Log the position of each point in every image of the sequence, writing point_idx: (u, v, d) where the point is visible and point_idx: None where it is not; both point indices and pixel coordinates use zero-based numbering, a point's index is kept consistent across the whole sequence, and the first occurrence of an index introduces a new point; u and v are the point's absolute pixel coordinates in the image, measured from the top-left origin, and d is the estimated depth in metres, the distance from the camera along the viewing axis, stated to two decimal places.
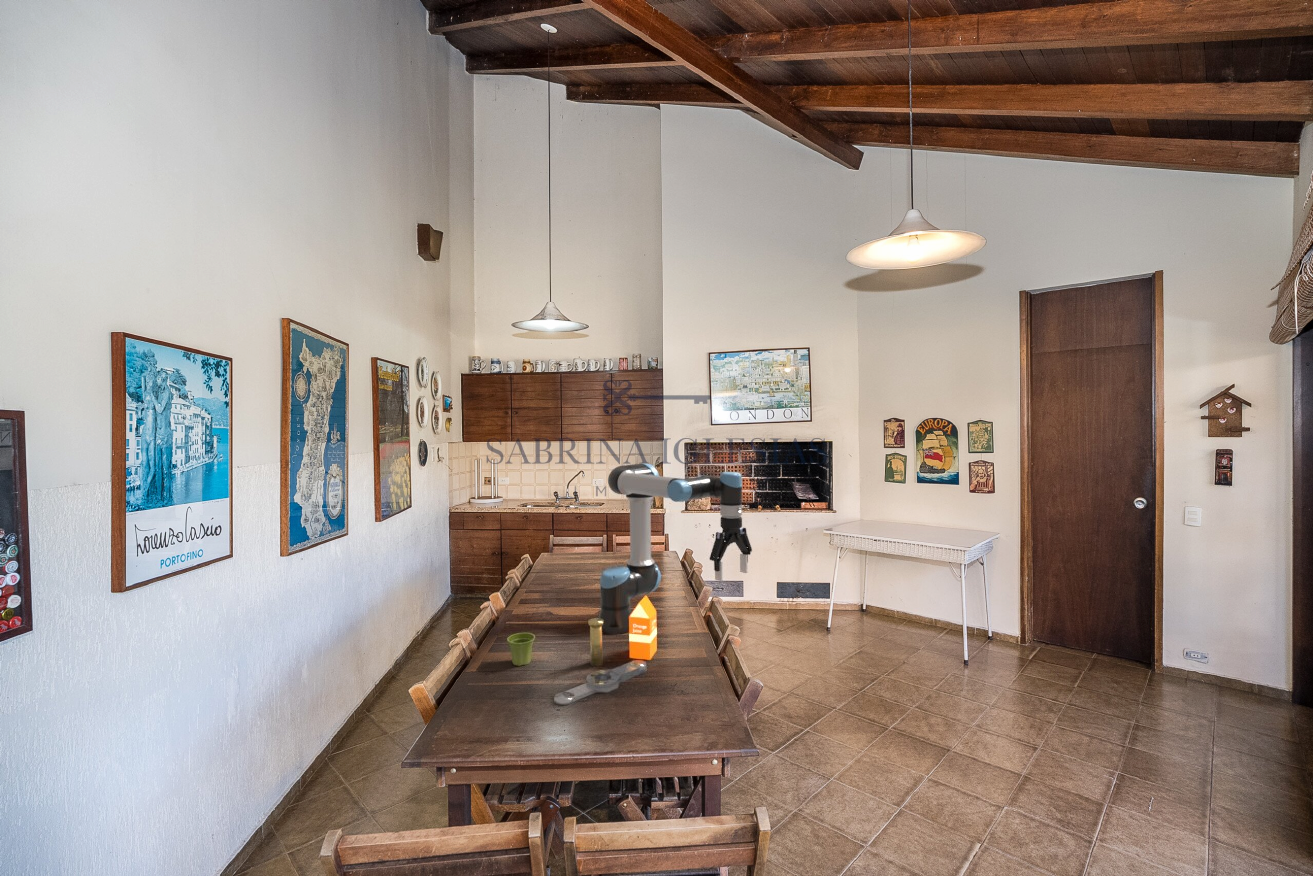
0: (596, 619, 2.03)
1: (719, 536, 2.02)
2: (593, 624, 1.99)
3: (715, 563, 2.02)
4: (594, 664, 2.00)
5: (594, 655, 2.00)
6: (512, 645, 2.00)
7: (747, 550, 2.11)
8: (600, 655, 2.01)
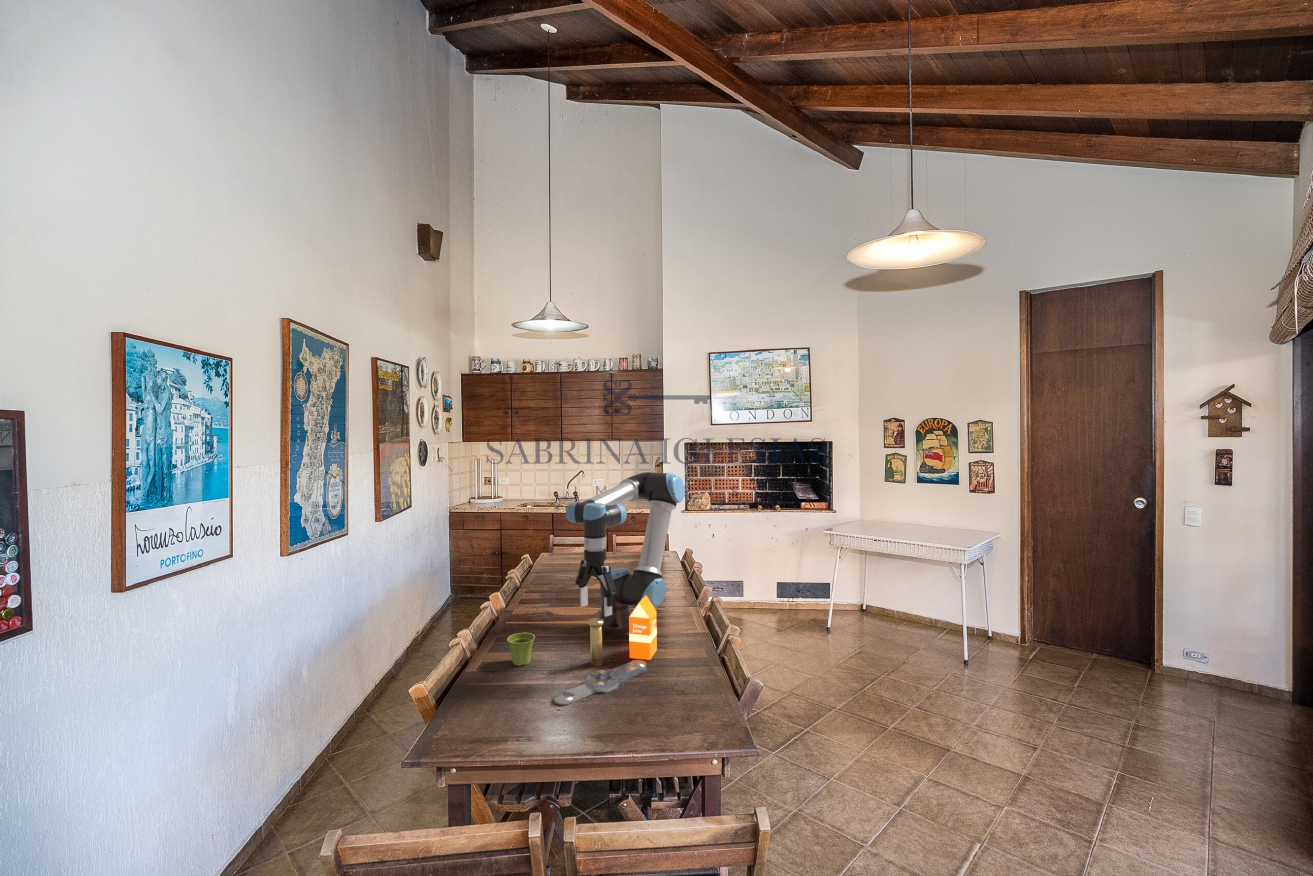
0: (596, 619, 2.02)
1: None
2: (593, 624, 1.99)
3: None
4: (594, 664, 2.00)
5: (594, 655, 2.00)
6: (512, 645, 2.00)
7: (606, 592, 1.94)
8: (600, 655, 2.01)
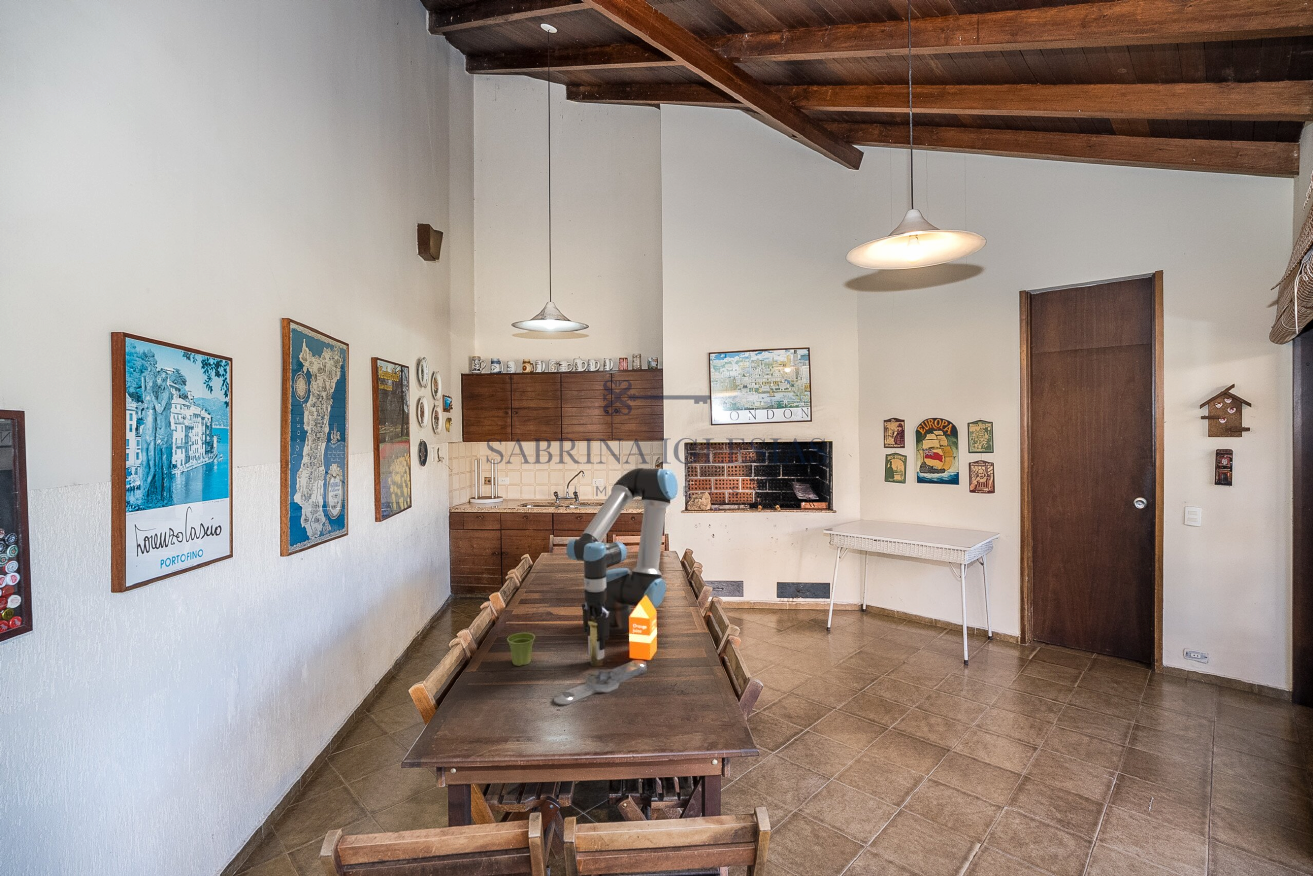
0: None
1: None
2: (593, 624, 1.99)
3: None
4: (594, 664, 2.00)
5: (594, 655, 2.00)
6: (512, 645, 2.00)
7: (599, 636, 1.98)
8: None
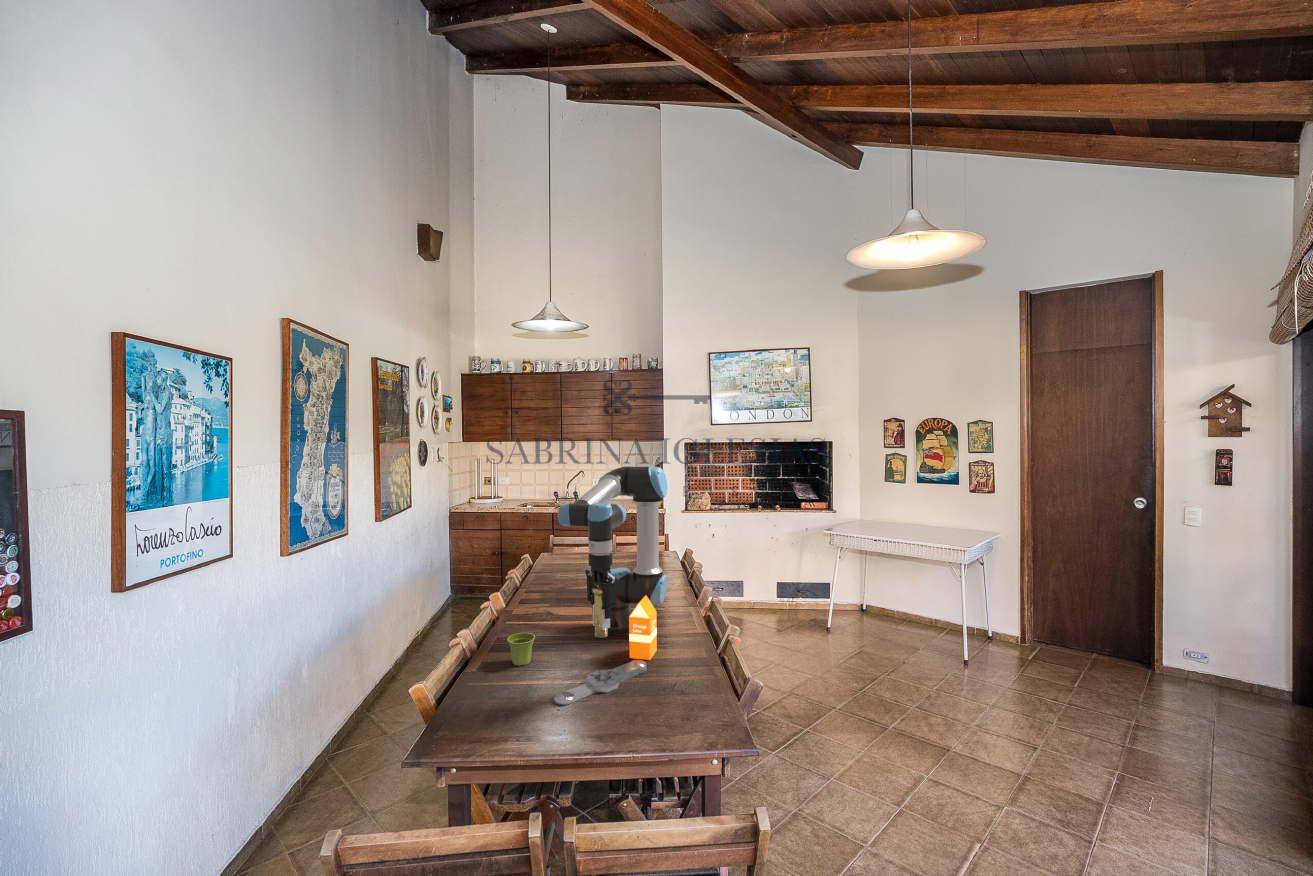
0: None
1: None
2: (598, 591, 1.83)
3: None
4: (599, 635, 1.84)
5: (599, 626, 1.84)
6: (512, 645, 2.00)
7: (604, 604, 1.82)
8: None
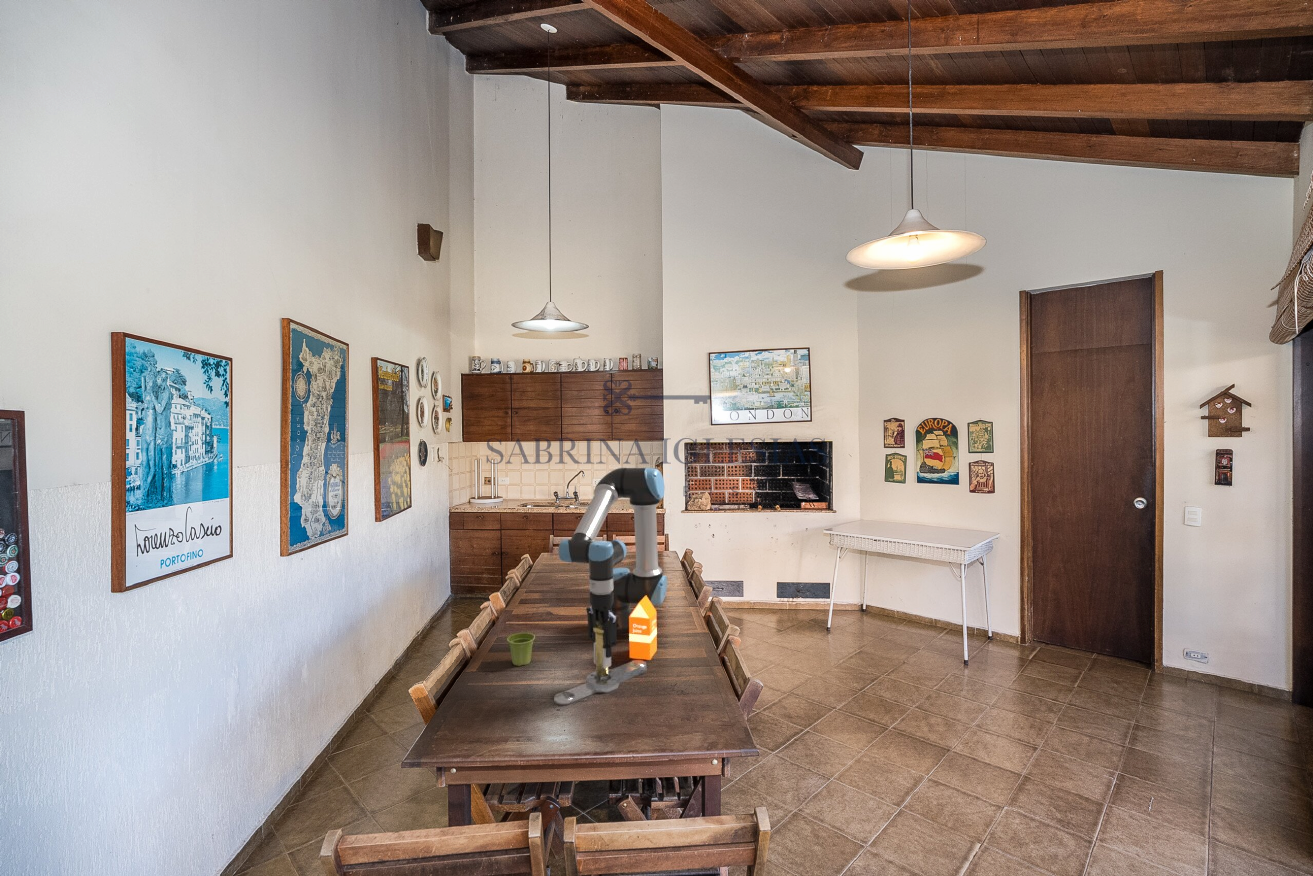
0: None
1: None
2: (599, 631, 1.83)
3: None
4: (600, 674, 1.84)
5: (600, 665, 1.84)
6: (512, 645, 2.00)
7: (605, 643, 1.82)
8: None
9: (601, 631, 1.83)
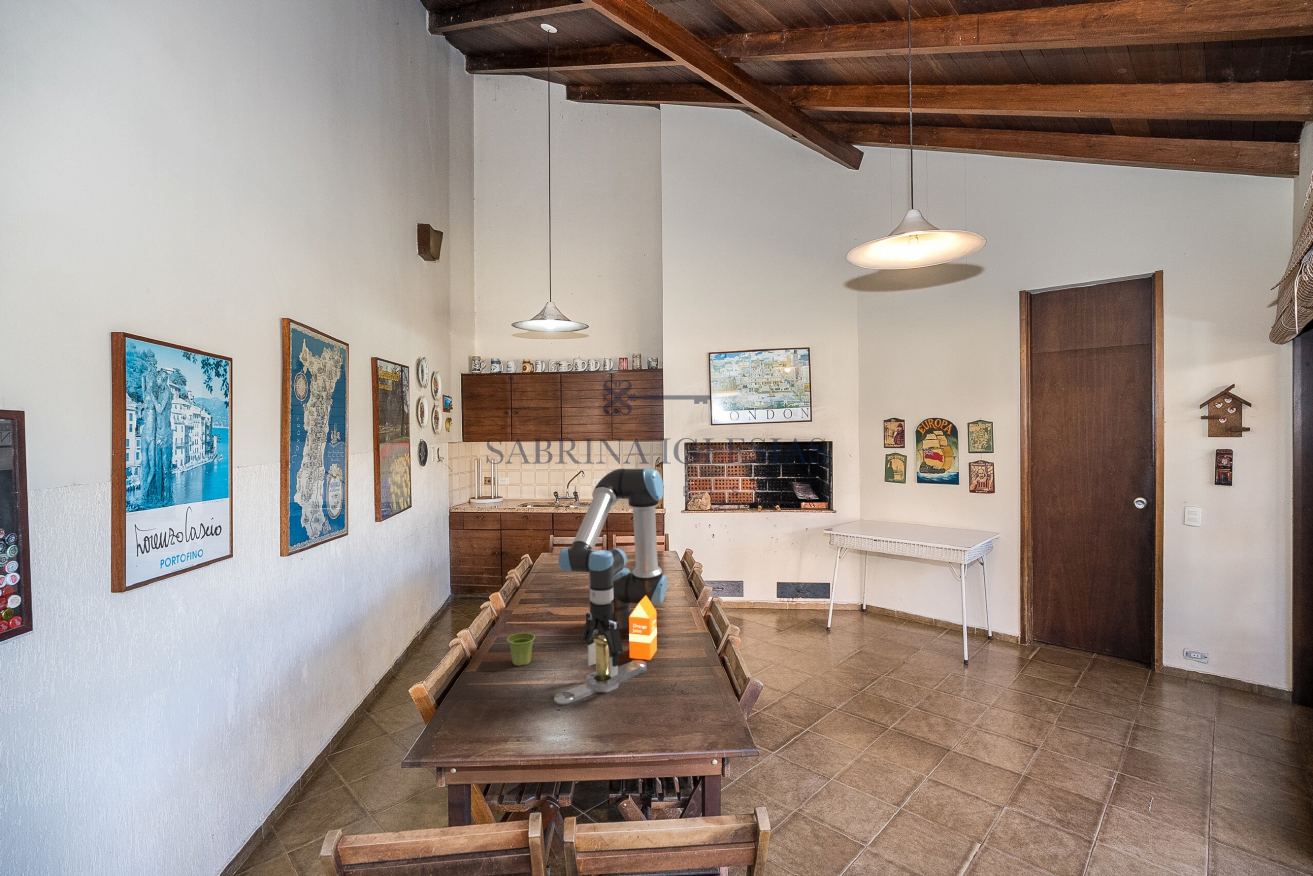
0: (602, 636, 1.87)
1: None
2: (599, 642, 1.83)
3: None
4: None
5: (600, 676, 1.84)
6: (512, 645, 2.00)
7: (612, 651, 1.80)
8: (607, 676, 1.85)
9: (601, 642, 1.83)
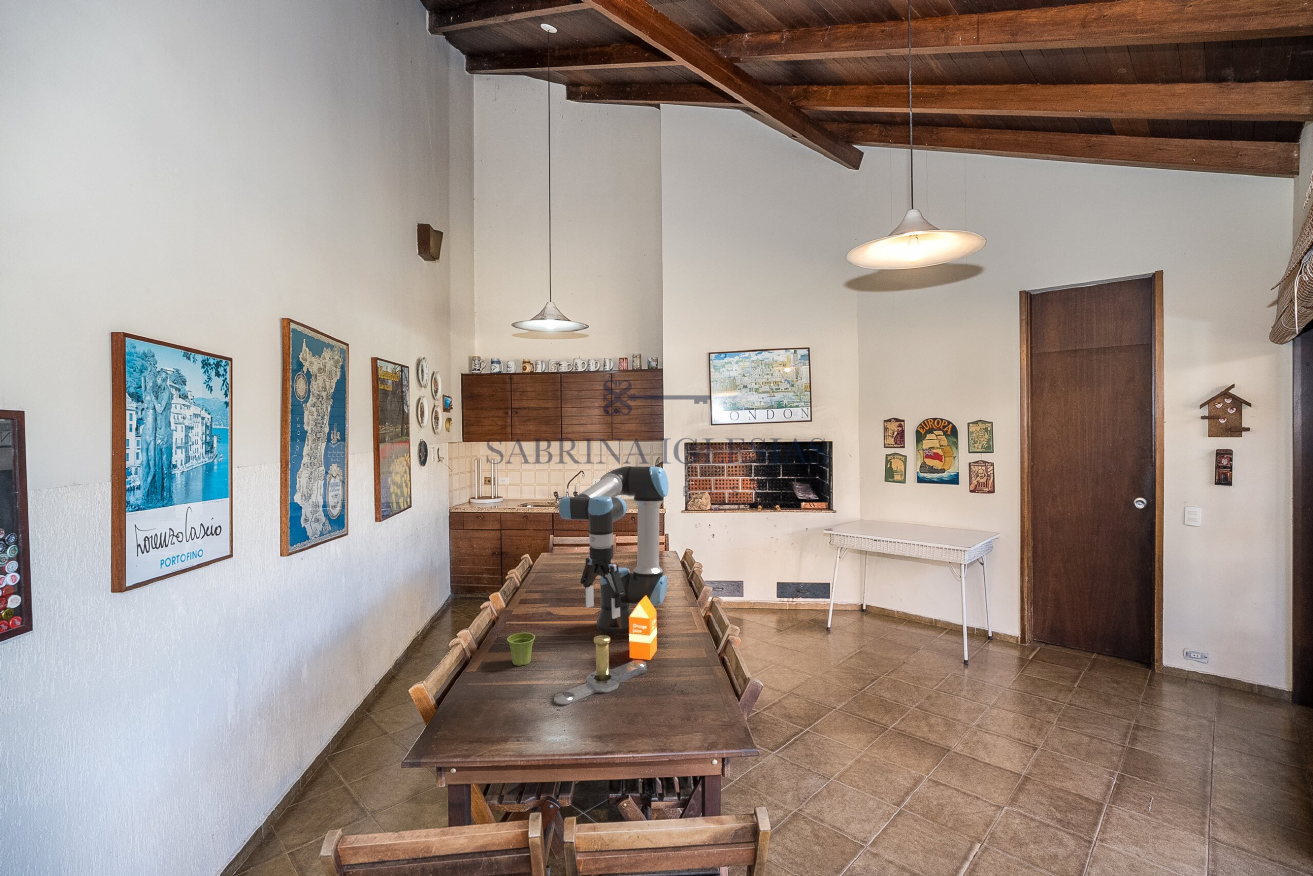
0: (602, 636, 1.87)
1: None
2: (599, 642, 1.83)
3: None
4: None
5: (600, 676, 1.84)
6: (512, 645, 2.00)
7: (614, 593, 1.80)
8: (607, 676, 1.85)
9: (601, 642, 1.83)
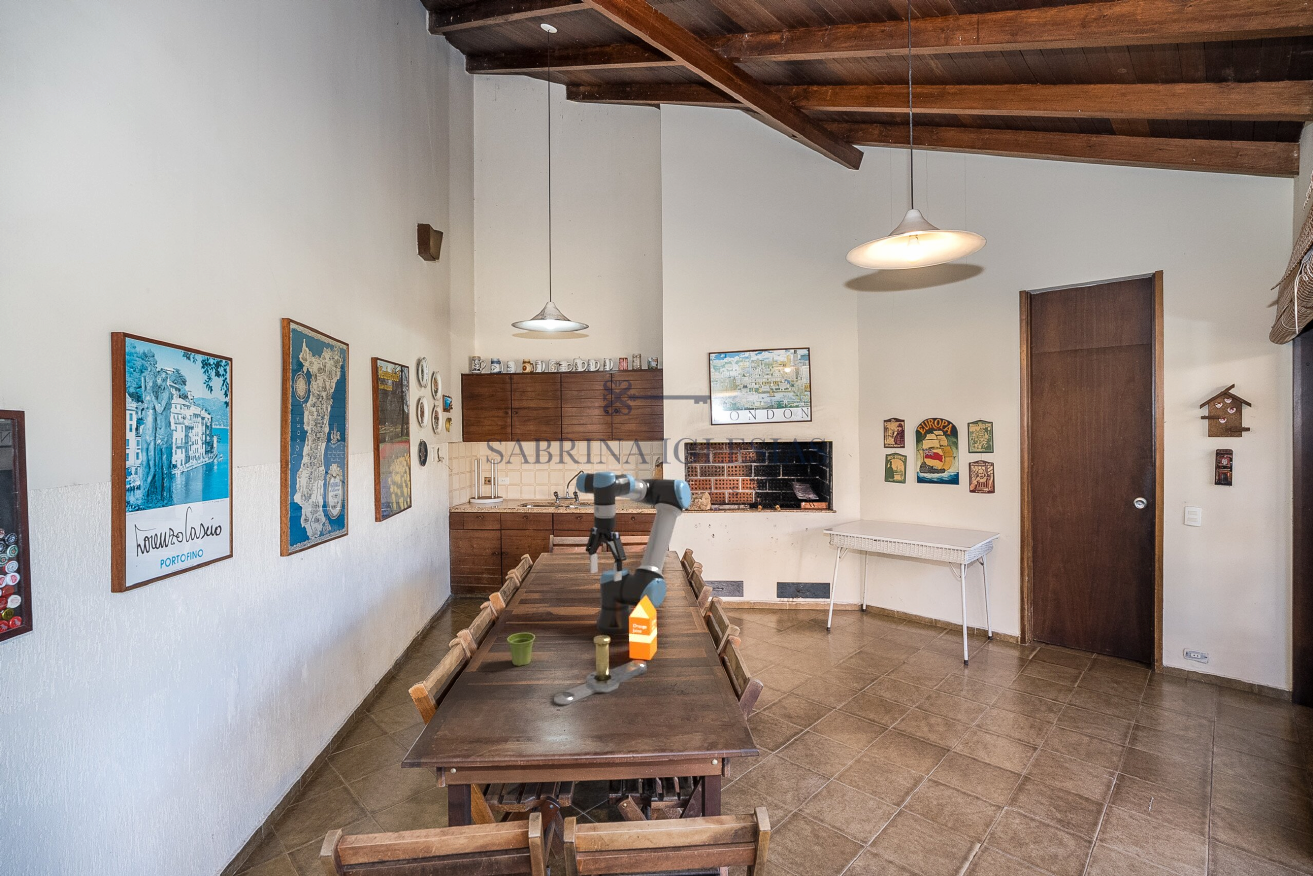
0: (602, 636, 1.87)
1: None
2: (599, 642, 1.83)
3: None
4: None
5: (600, 676, 1.84)
6: (512, 645, 2.00)
7: (616, 557, 2.00)
8: (607, 676, 1.85)
9: (601, 642, 1.83)
